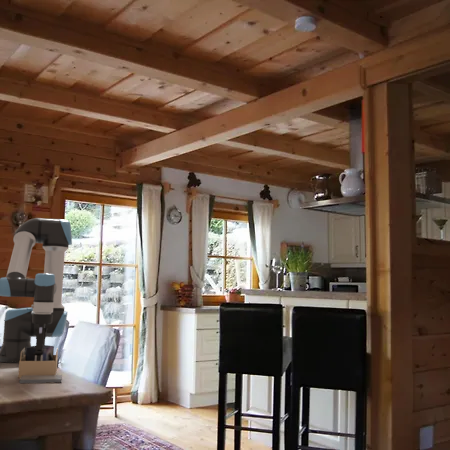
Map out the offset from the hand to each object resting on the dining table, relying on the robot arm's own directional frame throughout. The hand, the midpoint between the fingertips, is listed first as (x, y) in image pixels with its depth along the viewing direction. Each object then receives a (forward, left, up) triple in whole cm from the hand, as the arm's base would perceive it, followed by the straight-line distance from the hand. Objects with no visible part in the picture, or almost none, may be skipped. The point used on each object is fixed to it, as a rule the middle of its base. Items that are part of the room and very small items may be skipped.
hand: (38, 370), depth 211 cm
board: (+16, +2, -1) cm, 16 cm away
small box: (0, 0, -2) cm, 2 cm away
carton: (0, 0, -1) cm, 1 cm away
